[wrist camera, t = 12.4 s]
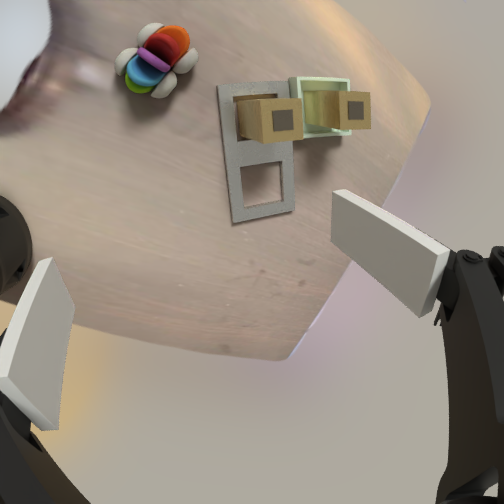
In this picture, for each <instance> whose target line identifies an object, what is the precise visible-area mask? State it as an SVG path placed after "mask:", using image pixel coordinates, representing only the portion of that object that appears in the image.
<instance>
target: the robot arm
mask: <svg viewBox="0 0 504 504" xmlns="http://www.w3.org/2000/svg"><path fill="white" fill-rule="evenodd" d="M331 242H332V243H333V244H334V245H335V246H337V247H338V248H339V249H340V250H341V251H343V252H344V253H345V254H346V255H348V256H349V257H350V258H351V259H352V260H354V261H355V262H356V263H357V264H358V265H359V266H361V267H362V268H363V269H364V270H365V271H367V272H368V273H369V274H370V275H371V276H372V277H374V278H375V279H376V280H377V281H378V282H379V283H381V284H382V285H383V286H384V287H385V288H386V289H388V290H389V291H390V292H391V293H392V294H393V295H394V296H395V297H397V298H398V299H399V300H400V301H401V302H402V303H403V304H404V305H405V306H407V307H408V308H409V309H410V310H411V311H412V312H414V314H415V315H417V316H418V317H419V318H420V317H422V316H424V315H426V314H427V313H429V312H431V311H432V309H433V306H434V303H435V300H436V298H437V299H438V300H439V301H440V302H441V305H440V308H439V310H438V313H437V315H436V318H435V321H434V326H436V324H437V322H438V320H439V319H441V323H440V326H442V332H443V339H444V347H445V355H446V366H447V378H448V395H449V450H448V463H447V467H446V470H445V472H444V474H443V476H442V478H441V480H440V483H439V486H438V490H437V497H436V503H435V504H504V301H503V296H504V247H503V246H495V247H493V248H492V250H491V254H490V257H489V258H483V257H482V256H481V255H479V254H478V253H475V252H474V251H469V250H460V251H458V252H457V253H456V252H454V251H453V250H451V249H449V248H448V247H446V246H445V245H443V244H442V243H440V242H438V241H437V240H435V239H433V238H432V237H430V236H429V235H426V234H425V233H424V232H422V231H421V230H419V229H417V228H415V227H413V226H411V225H409V224H408V223H406V222H404V221H403V220H401V219H399V218H397V217H396V216H394V215H392V214H390V213H389V212H387V211H385V210H383V209H381V208H380V207H378V206H376V205H374V204H372V203H370V202H369V201H367V200H365V199H363V198H361V197H359V196H357V195H355V194H353V193H351V192H349V191H348V190H346V189H343V190H337V191H332V221H331ZM31 254H32V243H31V236H30V232H29V229H28V226H27V224H26V222H25V220H24V218H23V216H22V215H21V213H20V212H19V210H18V209H17V208H16V207H15V206H14V205H13V204H12V203H11V202H10V201H9V200H7V199H6V198H4V197H2V196H0V295H1V294H2V293H4V292H5V291H7V290H8V289H10V288H11V287H13V286H14V285H16V284H17V283H18V282H19V281H20V279H21V278H22V277H23V275H24V273H25V271H26V270H27V268H28V266H29V263H30V260H31ZM75 308H76V307H75V305H74V303H73V301H72V299H71V297H70V295H69V292H68V290H67V288H66V286H65V284H64V282H63V279H62V277H61V275H60V273H59V270H58V268H57V266H56V263H55V261H54V259H53V257H51V258H48V259H44V260H41V261H39V262H38V264H37V266H36V268H35V270H34V272H33V274H32V276H31V277H30V279H29V281H28V283H27V286H26V288H25V290H24V292H23V294H22V296H21V298H20V300H19V302H18V305H17V307H16V309H15V311H14V314H13V316H12V319H11V321H10V323H9V326H8V328H6V329H5V331H4V332H3V333H2V335H1V336H0V504H91V503H90V502H89V501H88V500H87V499H86V498H85V497H84V496H83V495H82V494H81V493H80V492H79V490H78V489H77V488H76V487H75V486H74V485H73V484H72V483H71V481H70V480H69V479H68V478H67V477H66V476H65V474H64V473H63V472H62V471H61V469H60V468H59V467H58V465H57V464H56V463H55V462H54V460H53V459H52V458H51V456H50V455H49V454H48V452H47V451H46V449H45V448H44V447H43V445H42V444H41V443H40V441H39V440H38V438H37V437H36V435H35V434H33V432H31V431H30V427H31V422H32V423H33V424H34V425H35V426H37V427H38V428H39V429H40V430H41V431H45V430H58V429H59V413H60V401H61V391H62V382H63V374H64V367H65V360H66V354H67V348H68V342H69V337H70V331H71V326H72V321H73V317H74V312H75ZM496 483H498V496H497V497H490V496H483V495H484V493H485V491H486V490H487V489H488V488H489V487H491V486H493V485H494V484H496Z"/></svg>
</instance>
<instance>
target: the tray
mask: <svg viewBox="0 0 504 504" xmlns="http://www.w3.org/2000/svg"><path fill="white" fill-rule="evenodd" d="M289 85H290V98H302V115H303V135H304V138H313V137H326V136H343V135H351V130H338V129H333V128H328V127H323V126H318V125H312V124H307V123H305V111H304V95H303V91H350V79H343V78H325V77H291V78H289Z"/></svg>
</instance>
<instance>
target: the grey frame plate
mask: <svg viewBox="0 0 504 504" xmlns="http://www.w3.org/2000/svg"><path fill="white" fill-rule="evenodd" d="M217 93H218V102H219V112H220V121H221V130H222V139H223V148H224V157H225V165H226V174H227V182H228V191H229V199H230V207H231V215H232V222H233V223H237V222H241V221H246V220H250V219H255V218H260V217H264V216H269V215H274V214H279V213H283V212H288V211H293V210H295V189H294V164H293V143H292V141H284V142H275V143H267V144H262V143H260V142H257V141H254V140H251V139H249V140H241V141H237V134H236V124H235V114H234V104H233V96H243V95H255V94H271V93H275V95H276V98H290V94H289V81H264V82H247V83H234V84H223V85H217ZM276 161H280V170H281V188H282V200H278V201H273V202H268V203H263V204H258V205H253V206H248V207H244V203H243V193H242V183H241V174H240V167H243V166H250V165H256V164H262V163H269V162H276Z"/></svg>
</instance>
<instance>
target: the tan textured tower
mask: <svg viewBox="0 0 504 504" xmlns="http://www.w3.org/2000/svg"><path fill="white" fill-rule="evenodd" d="M237 109H238V119H239V129H240V136H242V137H245V138H248V139H251V140H254V141H257V142H260V143H262V144H267V143H275V142H284V141H294V140H304V135H303V115H302V98H267V99H253V100H242V101H237Z"/></svg>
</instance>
